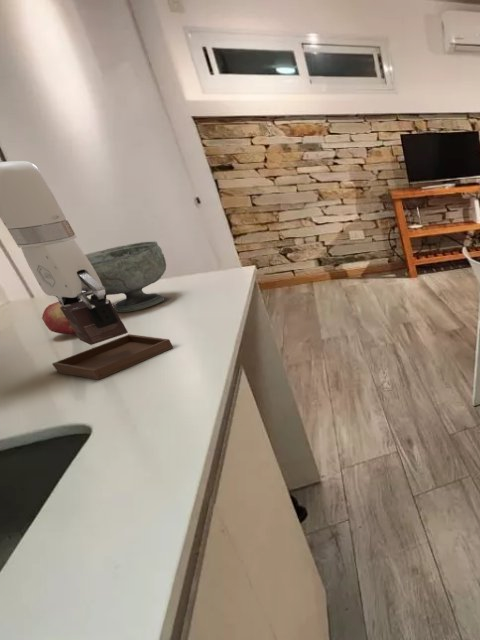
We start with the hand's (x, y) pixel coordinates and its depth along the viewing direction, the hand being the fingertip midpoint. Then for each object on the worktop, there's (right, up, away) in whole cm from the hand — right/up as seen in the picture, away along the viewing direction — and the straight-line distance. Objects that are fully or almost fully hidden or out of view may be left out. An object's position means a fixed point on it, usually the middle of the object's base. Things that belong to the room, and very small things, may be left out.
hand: (96, 322), depth 93 cm
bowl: (-24, +5, +34) cm, 42 cm away
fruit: (-24, -2, +18) cm, 30 cm away
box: (0, -3, +1) cm, 3 cm away
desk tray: (+1, -7, +4) cm, 8 cm away
